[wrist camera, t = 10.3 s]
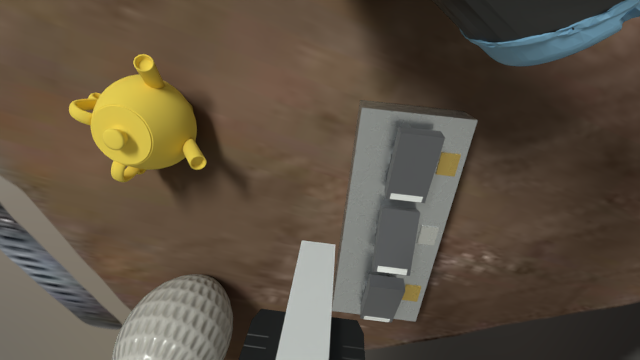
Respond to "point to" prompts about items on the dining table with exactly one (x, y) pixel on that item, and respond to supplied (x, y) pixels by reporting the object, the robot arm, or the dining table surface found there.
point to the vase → (178, 322)
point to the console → (368, 193)
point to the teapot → (141, 123)
